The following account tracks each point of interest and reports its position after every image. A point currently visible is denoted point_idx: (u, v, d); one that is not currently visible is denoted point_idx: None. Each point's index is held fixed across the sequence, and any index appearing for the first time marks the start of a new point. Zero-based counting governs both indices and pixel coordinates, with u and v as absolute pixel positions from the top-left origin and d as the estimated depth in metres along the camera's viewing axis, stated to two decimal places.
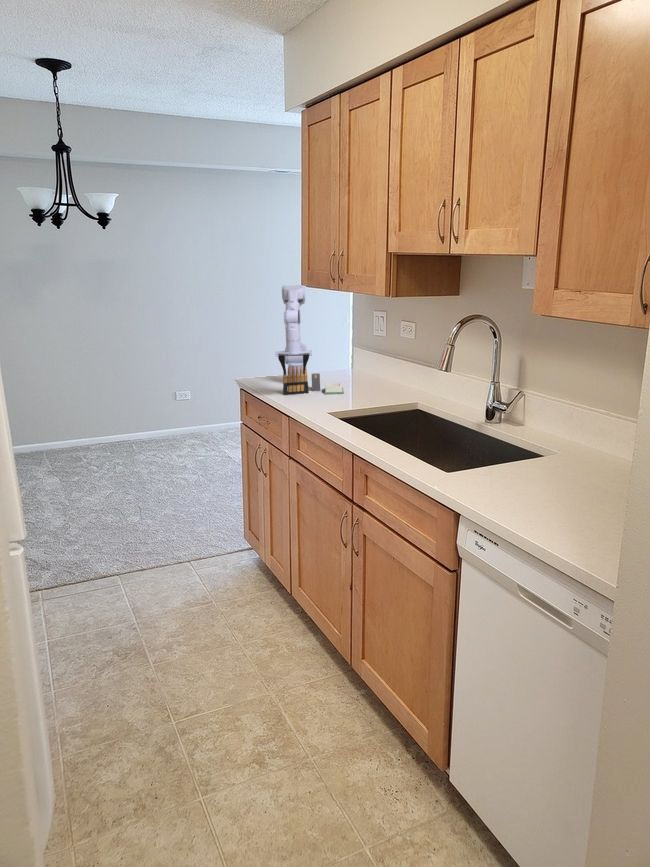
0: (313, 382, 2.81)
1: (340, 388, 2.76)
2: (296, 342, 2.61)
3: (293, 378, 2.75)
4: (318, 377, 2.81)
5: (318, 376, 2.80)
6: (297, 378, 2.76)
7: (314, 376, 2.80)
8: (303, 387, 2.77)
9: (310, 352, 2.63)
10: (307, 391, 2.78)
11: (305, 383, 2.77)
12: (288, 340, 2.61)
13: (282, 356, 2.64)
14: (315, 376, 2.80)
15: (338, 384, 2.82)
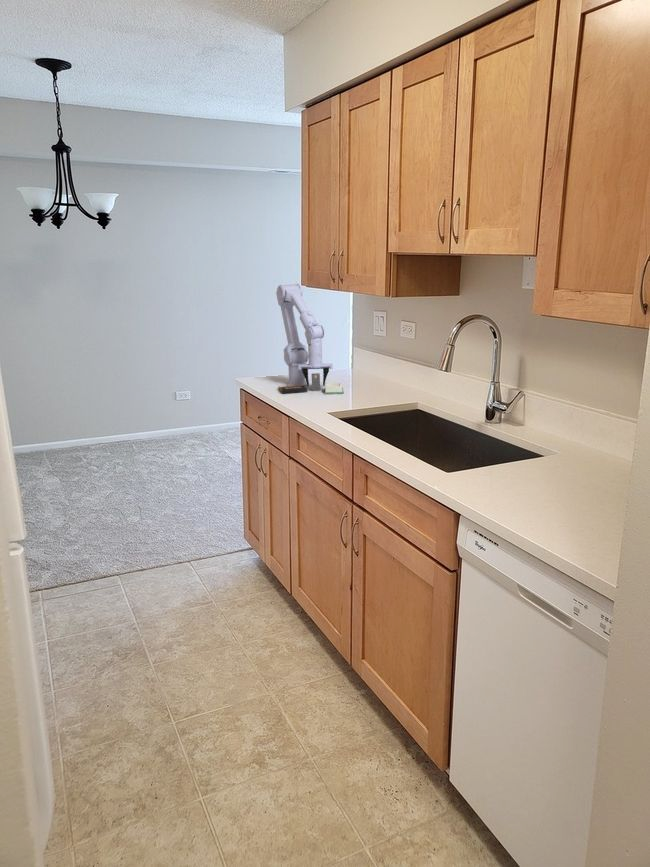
0: (313, 382, 2.81)
1: (340, 388, 2.76)
2: (318, 356, 2.77)
3: (288, 386, 2.85)
4: (318, 377, 2.81)
5: (318, 376, 2.80)
6: (292, 386, 2.85)
7: (314, 376, 2.80)
8: None
9: (331, 365, 2.80)
10: (305, 387, 2.81)
11: (301, 386, 2.84)
12: (314, 354, 2.77)
13: (304, 369, 2.81)
14: (315, 376, 2.80)
15: (338, 384, 2.82)
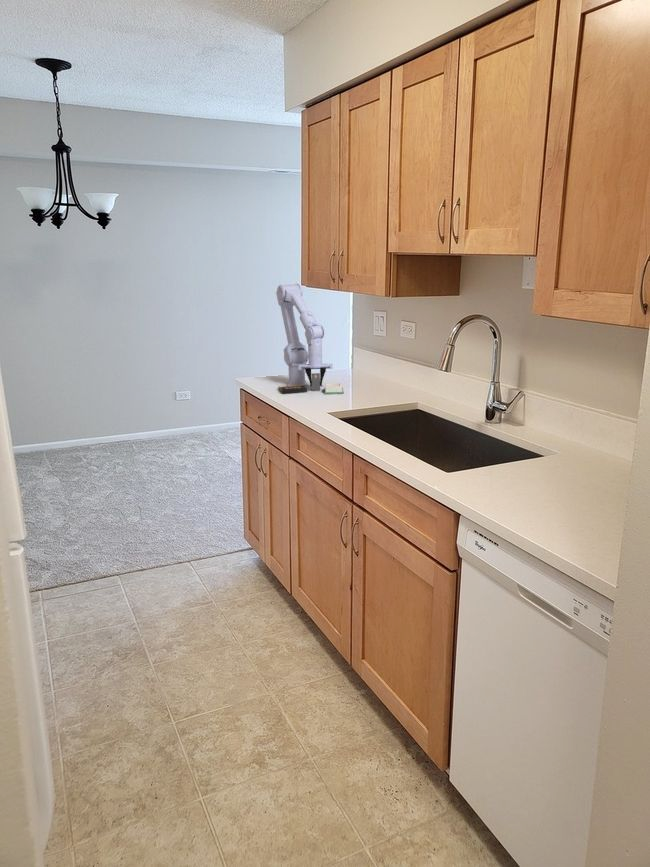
0: (313, 382, 2.81)
1: (340, 388, 2.76)
2: (318, 356, 2.77)
3: (288, 386, 2.85)
4: (318, 377, 2.81)
5: (318, 376, 2.80)
6: (292, 386, 2.85)
7: (314, 376, 2.80)
8: None
9: (331, 365, 2.80)
10: (305, 387, 2.81)
11: (301, 386, 2.84)
12: (314, 354, 2.77)
13: (304, 369, 2.81)
14: (315, 376, 2.80)
15: (338, 384, 2.82)
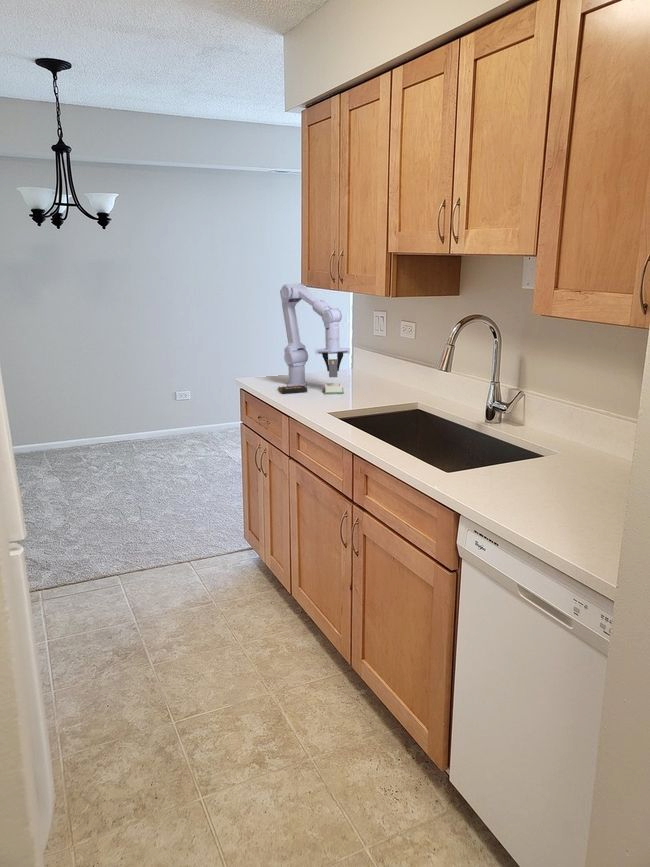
0: (330, 368, 2.75)
1: (340, 388, 2.76)
2: (335, 340, 2.72)
3: (288, 386, 2.85)
4: (335, 363, 2.75)
5: (335, 362, 2.75)
6: (292, 386, 2.85)
7: (331, 362, 2.75)
8: None
9: (348, 350, 2.74)
10: (305, 387, 2.81)
11: (301, 386, 2.84)
12: (332, 338, 2.71)
13: None
14: (332, 362, 2.75)
15: (338, 384, 2.82)
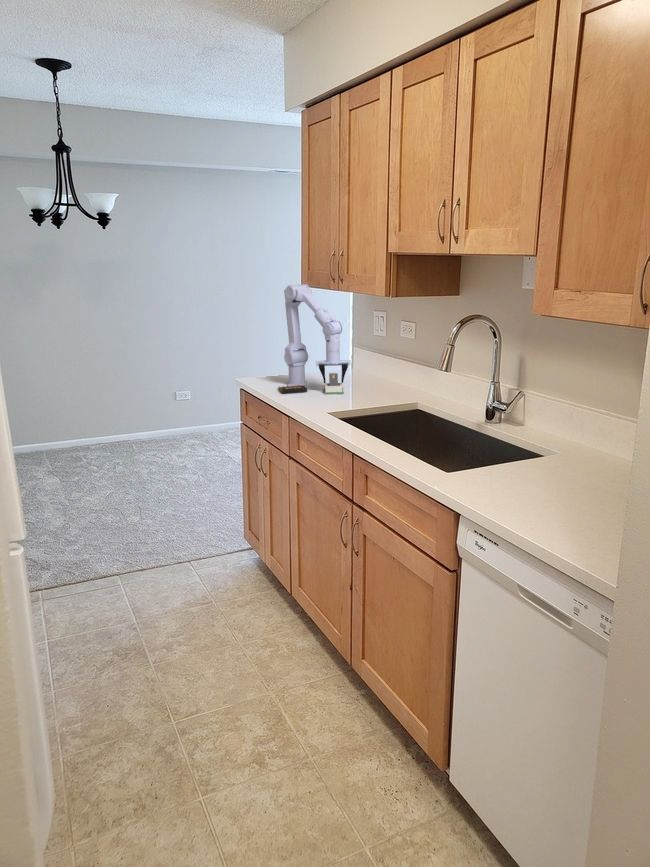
0: (331, 382, 2.77)
1: (340, 388, 2.76)
2: (336, 352, 2.73)
3: (288, 386, 2.85)
4: (336, 377, 2.76)
5: (336, 376, 2.76)
6: (292, 386, 2.85)
7: (332, 376, 2.76)
8: None
9: (349, 362, 2.76)
10: (305, 387, 2.81)
11: (301, 386, 2.84)
12: (333, 350, 2.72)
13: (322, 366, 2.76)
14: (333, 376, 2.76)
15: (338, 384, 2.82)
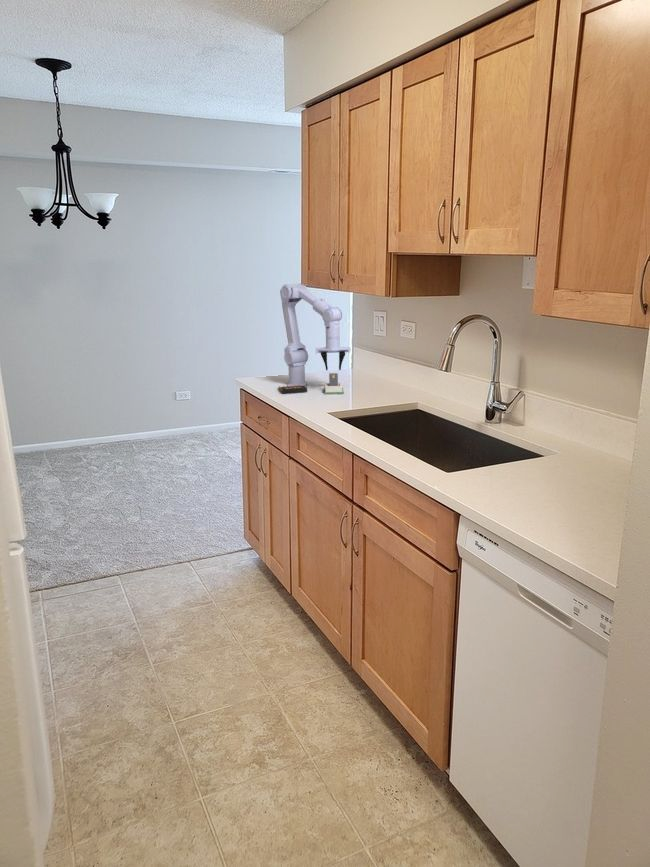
0: (331, 382, 2.77)
1: (340, 388, 2.76)
2: (336, 339, 2.72)
3: (288, 386, 2.85)
4: (336, 377, 2.76)
5: (336, 376, 2.76)
6: (292, 386, 2.85)
7: (332, 376, 2.76)
8: None
9: (349, 349, 2.74)
10: (305, 387, 2.81)
11: (301, 386, 2.84)
12: (333, 337, 2.71)
13: (322, 353, 2.75)
14: (333, 376, 2.76)
15: (338, 384, 2.82)
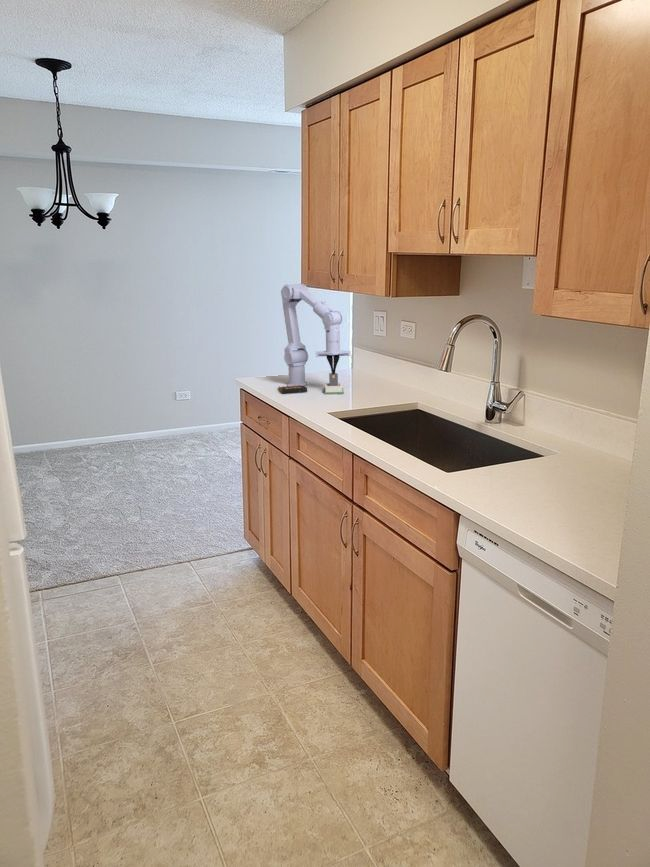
0: (331, 382, 2.77)
1: (340, 388, 2.76)
2: (336, 343, 2.72)
3: (288, 386, 2.85)
4: (336, 377, 2.76)
5: (336, 376, 2.76)
6: (292, 386, 2.85)
7: (332, 376, 2.76)
8: None
9: (349, 352, 2.75)
10: (305, 387, 2.81)
11: (301, 386, 2.84)
12: (333, 341, 2.71)
13: None
14: (333, 376, 2.76)
15: (338, 384, 2.82)
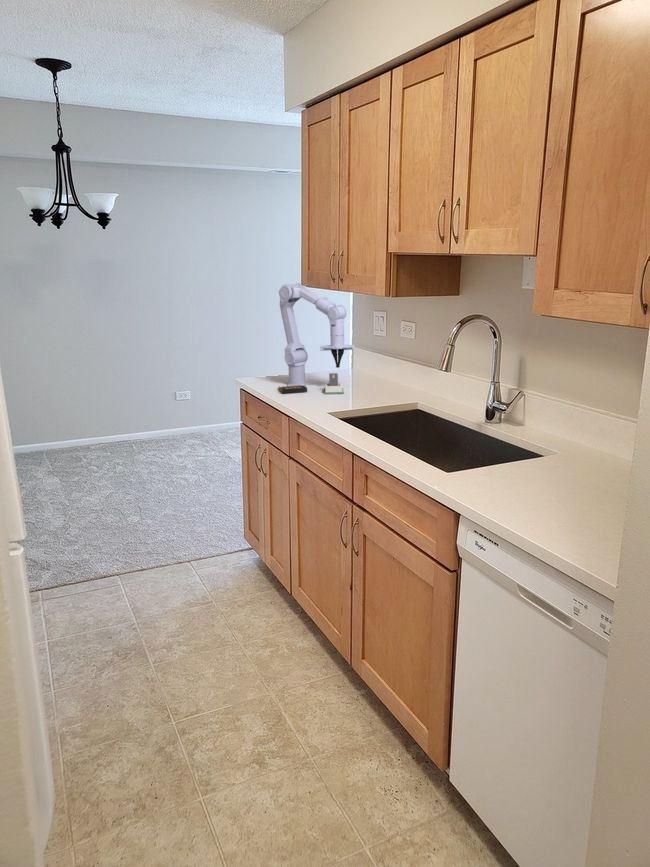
0: (331, 382, 2.77)
1: (340, 388, 2.76)
2: (340, 337, 2.74)
3: (288, 386, 2.85)
4: (336, 377, 2.76)
5: (336, 376, 2.76)
6: (292, 386, 2.85)
7: (332, 376, 2.76)
8: None
9: (353, 346, 2.77)
10: (305, 387, 2.81)
11: (301, 386, 2.84)
12: (338, 335, 2.74)
13: None
14: (333, 376, 2.76)
15: (338, 384, 2.82)
